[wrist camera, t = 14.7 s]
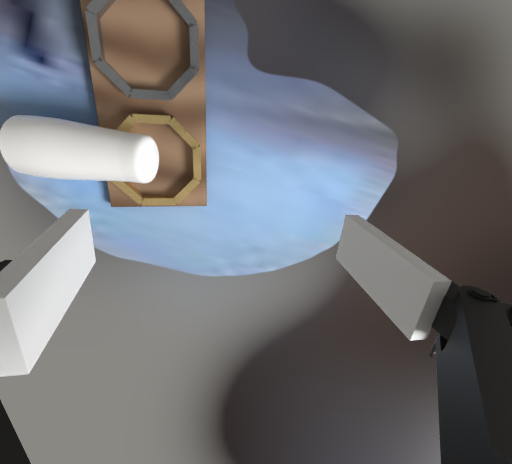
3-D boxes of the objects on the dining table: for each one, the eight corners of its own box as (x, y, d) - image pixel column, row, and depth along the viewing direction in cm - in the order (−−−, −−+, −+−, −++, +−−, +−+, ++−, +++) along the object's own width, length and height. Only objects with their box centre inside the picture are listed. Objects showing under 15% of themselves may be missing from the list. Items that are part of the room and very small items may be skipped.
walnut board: (78, -32, 30) (74, -37, 29) (203, -14, 33) (204, -17, 32) (113, 204, 41) (111, 206, 40) (206, 203, 43) (206, 205, 42)
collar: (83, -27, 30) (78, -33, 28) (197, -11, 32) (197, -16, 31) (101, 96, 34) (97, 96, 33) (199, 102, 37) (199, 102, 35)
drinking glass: (141, 200, 31) (11, 184, 32) (165, 177, 37) (55, 164, 38) (131, 136, 27) (-14, 120, 28) (160, 122, 33) (38, 109, 34)
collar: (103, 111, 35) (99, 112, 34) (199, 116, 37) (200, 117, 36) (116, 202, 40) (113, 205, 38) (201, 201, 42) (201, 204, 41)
